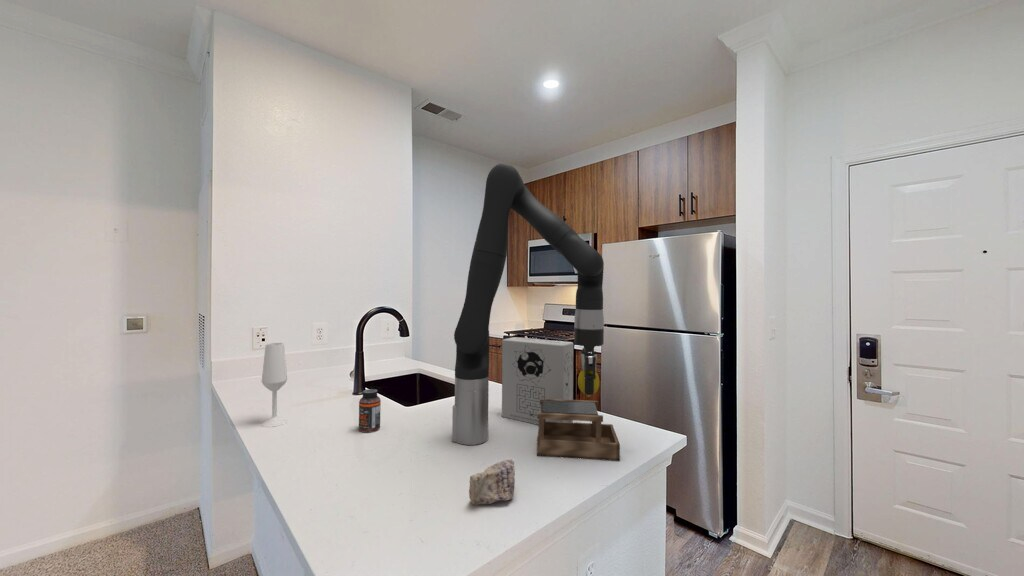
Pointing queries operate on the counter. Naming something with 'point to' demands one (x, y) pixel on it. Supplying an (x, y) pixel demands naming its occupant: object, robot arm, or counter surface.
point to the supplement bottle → (369, 411)
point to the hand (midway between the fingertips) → (588, 391)
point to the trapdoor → (569, 407)
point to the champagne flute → (274, 377)
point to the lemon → (582, 382)
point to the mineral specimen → (493, 483)
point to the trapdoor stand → (576, 436)
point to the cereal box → (534, 376)
